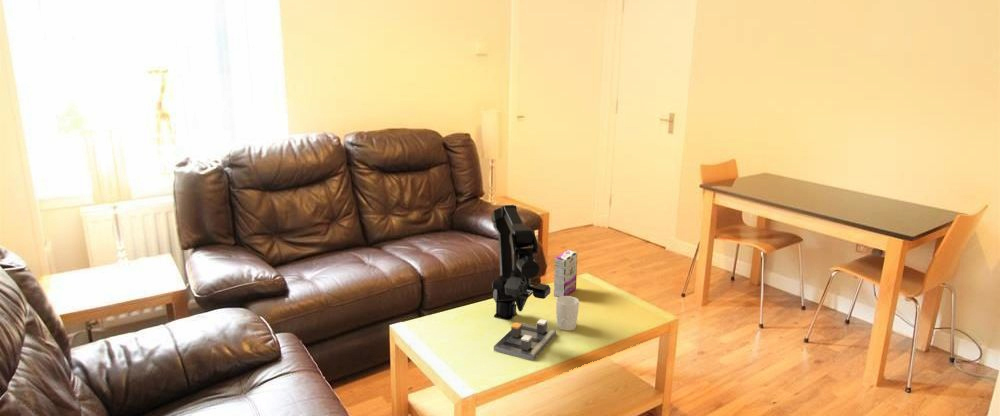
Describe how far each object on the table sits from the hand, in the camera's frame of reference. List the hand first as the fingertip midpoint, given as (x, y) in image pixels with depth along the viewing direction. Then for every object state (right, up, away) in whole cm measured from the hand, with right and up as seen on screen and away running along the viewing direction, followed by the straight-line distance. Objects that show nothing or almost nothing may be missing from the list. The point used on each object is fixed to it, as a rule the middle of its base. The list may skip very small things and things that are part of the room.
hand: (520, 310), depth 200 cm
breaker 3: (+7, -8, +6) cm, 12 cm away
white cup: (+17, -8, +14) cm, 23 cm away
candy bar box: (+19, 0, +43) cm, 47 cm away
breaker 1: (-1, -8, +3) cm, 9 cm away
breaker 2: (+2, -11, -6) cm, 12 cm away
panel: (+2, -11, +2) cm, 11 cm away
